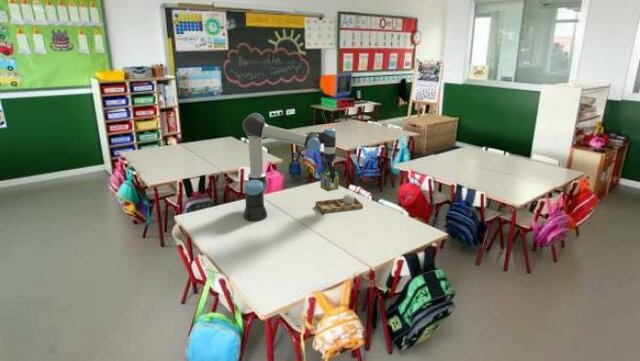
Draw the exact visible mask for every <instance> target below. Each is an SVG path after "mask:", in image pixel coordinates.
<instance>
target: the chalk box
mask: <svg viewBox="0 0 640 361" xmlns="http://www.w3.org/2000/svg"><path fill="white" fill-rule="evenodd" d="M328 169H329V168H328V167H327V168H326V171H324V170H323V171H320V189H322V190H324V191H326V192H333V191H336V190H339V182H340V181H339V180H340V177H339V176H340V173H339V172H337V171H335V176H336V178H334V187H333V188H330V171H329V170H328Z"/></svg>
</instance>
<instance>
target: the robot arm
mask: <svg viewBox="0 0 640 361" xmlns="http://www.w3.org/2000/svg"><path fill="white" fill-rule="evenodd" d="M242 129H243V131H244V133H245V136H247V139H248V152H249V169H250V170H249V173H248V175H247V178H248V181H246V182H245V183H244V197H245V198H244V199H245V207H244V211H243V219H244V220H246V221H250V222H259V221H263V220H265V219H267V217H268V212H267V208H266V207H265V201H264V200H265V199H264V198H265V197H264V194H265V192H266V189H267V188H268V180H267V175H266V173H265V172H264V153H263V152H264V150H263V138H268V139H272V140H275V141H279V142H283V143H289V144H292V145H296V146H300V147H305V148H308V149H309V150H311V151H317V150H318V149H319V148H320V145H323V159H324V166H323V171H326V168H327V167H328V168H329V169H328V170H329V171H330V188H333V187H334V178H336V176H335V172H336V168H335V167H336V166H335V165H336V164H335V162H334V160H335V159H336V149H337V147H336V144H337V142H336V129H334V128H329V127H328V128H324V129H323V131H321V132H320V131H309V132H308V131H307V132H305V133H301V132H298V131H294V130H289V129H286V128H282V127H277V126H274V125H270V124H268V123H266V122H265V118H264V117H263V115H261V114H260V113H258V112H253V113H250V114H249V115H248V116H247V117H245V118H244V119H243V122H242Z"/></svg>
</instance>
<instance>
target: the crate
mask: <svg viewBox="0 0 640 361" xmlns="http://www.w3.org/2000/svg"><path fill="white" fill-rule="evenodd" d="M353 197H354V203H353V204H352V205H350V206H347V205H345V204H344V203H343V197H342V198H334V199H333V198H332V199H325V200H324V199H323V200H317V201H316V200H315V207H316V209H317V210H318V211H319V212H320V214H321V215H326V213H333V212H342V211H351V210H358V209H359V210H360V209H363V208H364V204H363V203H362V202H361V201H360V200H359V199H357V198H356V197H355V196H353Z"/></svg>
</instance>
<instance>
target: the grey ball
mask: <svg viewBox="0 0 640 361" xmlns="http://www.w3.org/2000/svg"><path fill="white" fill-rule="evenodd" d="M354 197H355V196H354V195H352V193H351V194H350V193H347V194H344V196H343V197H342V198H343V203H344V204H345V205H347V206H350V205H352V204H353V203H354Z"/></svg>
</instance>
